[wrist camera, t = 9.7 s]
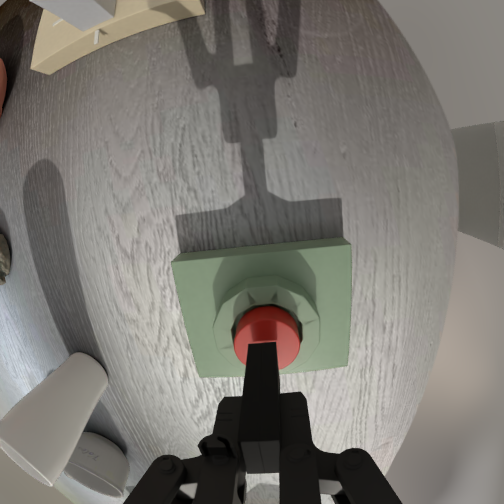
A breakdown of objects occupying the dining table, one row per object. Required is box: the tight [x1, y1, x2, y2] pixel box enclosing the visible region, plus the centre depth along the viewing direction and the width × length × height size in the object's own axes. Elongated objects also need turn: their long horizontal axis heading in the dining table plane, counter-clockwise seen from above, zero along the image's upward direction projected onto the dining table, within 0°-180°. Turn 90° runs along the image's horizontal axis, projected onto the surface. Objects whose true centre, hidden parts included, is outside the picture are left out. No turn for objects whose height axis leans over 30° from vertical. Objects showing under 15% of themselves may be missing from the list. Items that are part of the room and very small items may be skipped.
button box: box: [171, 237, 352, 377], centre depth 19 cm, size 12×10×4 cm
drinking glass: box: [0, 352, 108, 487], centre depth 17 cm, size 7×7×15 cm
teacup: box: [63, 432, 130, 498], centre depth 26 cm, size 14×11×8 cm
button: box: [234, 306, 300, 370], centre depth 17 cm, size 4×4×2 cm
